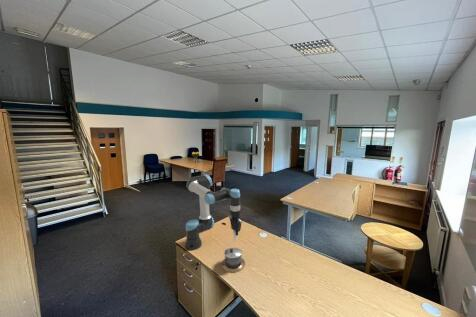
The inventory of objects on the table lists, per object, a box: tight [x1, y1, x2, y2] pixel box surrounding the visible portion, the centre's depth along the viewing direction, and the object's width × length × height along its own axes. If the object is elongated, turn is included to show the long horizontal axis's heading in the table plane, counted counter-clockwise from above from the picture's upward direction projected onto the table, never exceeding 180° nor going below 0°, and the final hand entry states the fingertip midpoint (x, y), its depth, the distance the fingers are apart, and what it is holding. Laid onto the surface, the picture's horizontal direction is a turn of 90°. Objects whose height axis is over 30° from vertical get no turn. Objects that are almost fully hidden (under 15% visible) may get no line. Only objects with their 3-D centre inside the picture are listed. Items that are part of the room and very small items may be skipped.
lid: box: [224, 247, 243, 259], centre depth 166 cm, size 14×14×2 cm
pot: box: [220, 255, 246, 274], centre depth 167 cm, size 19×19×9 cm
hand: (236, 238), depth 160 cm, fingers closed
